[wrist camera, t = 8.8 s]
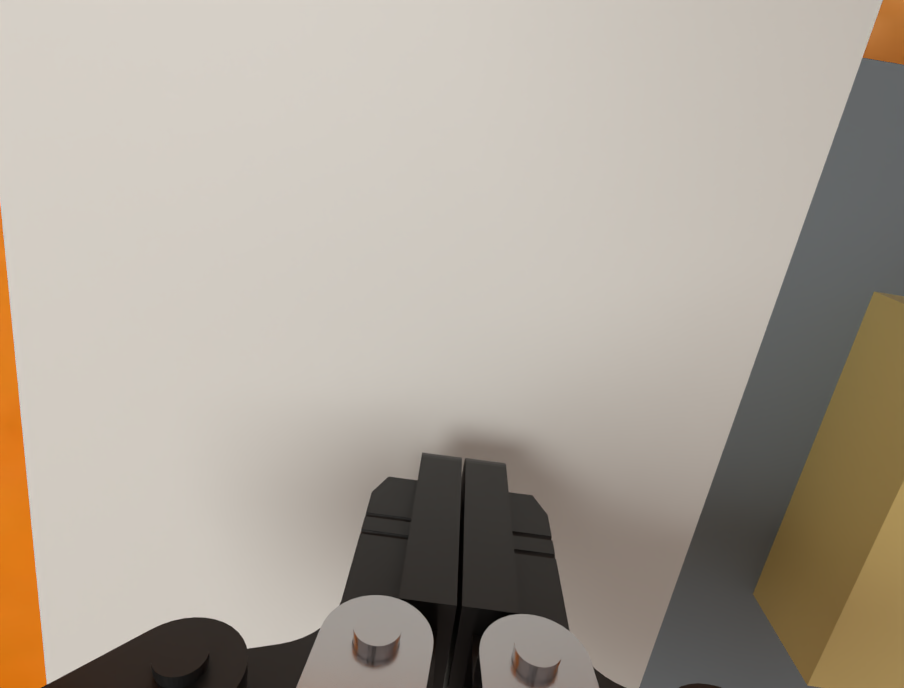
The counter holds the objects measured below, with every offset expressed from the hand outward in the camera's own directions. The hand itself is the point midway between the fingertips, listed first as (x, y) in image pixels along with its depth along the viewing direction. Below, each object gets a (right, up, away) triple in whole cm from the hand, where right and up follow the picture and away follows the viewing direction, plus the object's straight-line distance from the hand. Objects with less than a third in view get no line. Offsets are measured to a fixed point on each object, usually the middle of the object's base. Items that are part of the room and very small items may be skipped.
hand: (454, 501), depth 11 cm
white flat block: (-2, +2, +5) cm, 6 cm away
